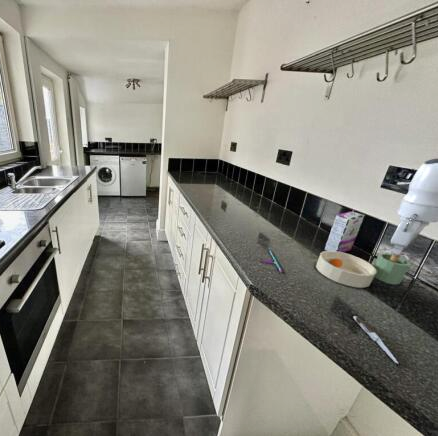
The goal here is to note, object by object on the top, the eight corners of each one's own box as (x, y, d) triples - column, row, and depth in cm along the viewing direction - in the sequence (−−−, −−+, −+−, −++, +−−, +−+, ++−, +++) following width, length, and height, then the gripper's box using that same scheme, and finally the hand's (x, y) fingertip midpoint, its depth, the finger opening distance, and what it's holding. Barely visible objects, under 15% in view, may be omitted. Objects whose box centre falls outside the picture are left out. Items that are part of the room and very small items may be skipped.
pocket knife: (351, 318, 63) (353, 313, 62) (354, 319, 63) (357, 313, 62) (394, 367, 50) (398, 360, 50) (399, 367, 50) (402, 361, 49)
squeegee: (257, 248, 95) (270, 250, 94) (257, 250, 96) (270, 252, 95) (267, 269, 81) (282, 271, 80) (266, 271, 82) (281, 273, 81)
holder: (402, 280, 80) (412, 261, 76) (396, 288, 76) (407, 268, 72) (373, 269, 85) (382, 251, 82) (366, 276, 81) (375, 256, 78)
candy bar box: (338, 245, 102) (351, 211, 96) (351, 250, 98) (366, 215, 92) (322, 250, 98) (335, 214, 92) (335, 255, 94) (350, 218, 88)
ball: (342, 267, 85) (345, 260, 83) (338, 270, 83) (341, 262, 82) (332, 263, 87) (334, 256, 86) (328, 265, 85) (331, 258, 84)
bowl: (375, 279, 80) (382, 266, 78) (360, 295, 72) (367, 281, 70) (325, 259, 91) (330, 247, 89) (307, 270, 83) (312, 257, 81)
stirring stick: (389, 277, 80) (413, 231, 73) (387, 279, 79) (412, 232, 72) (382, 275, 81) (405, 228, 74) (380, 276, 80) (404, 230, 74)
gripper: (427, 222, 63) (404, 264, 68) (439, 209, 74) (418, 247, 79) (395, 214, 68) (376, 255, 73) (411, 203, 79) (393, 239, 84)
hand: (398, 251), depth 76 cm, fingers open, 5 cm apart
